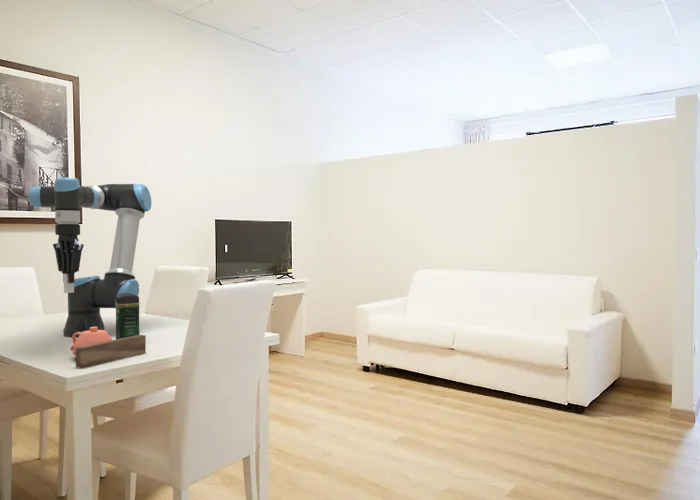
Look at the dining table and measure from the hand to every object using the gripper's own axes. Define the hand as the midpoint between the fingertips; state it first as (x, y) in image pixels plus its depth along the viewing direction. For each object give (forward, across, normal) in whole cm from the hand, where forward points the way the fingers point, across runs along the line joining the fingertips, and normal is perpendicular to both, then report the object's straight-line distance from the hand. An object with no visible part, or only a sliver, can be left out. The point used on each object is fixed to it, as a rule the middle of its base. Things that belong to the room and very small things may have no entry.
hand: (69, 292), depth 184 cm
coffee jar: (+21, +4, +21) cm, 30 cm away
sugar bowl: (+21, +14, -2) cm, 25 cm away
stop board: (+20, +22, -1) cm, 30 cm away
